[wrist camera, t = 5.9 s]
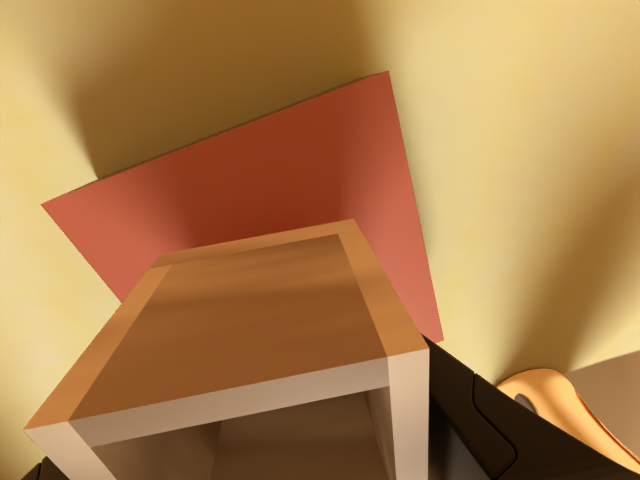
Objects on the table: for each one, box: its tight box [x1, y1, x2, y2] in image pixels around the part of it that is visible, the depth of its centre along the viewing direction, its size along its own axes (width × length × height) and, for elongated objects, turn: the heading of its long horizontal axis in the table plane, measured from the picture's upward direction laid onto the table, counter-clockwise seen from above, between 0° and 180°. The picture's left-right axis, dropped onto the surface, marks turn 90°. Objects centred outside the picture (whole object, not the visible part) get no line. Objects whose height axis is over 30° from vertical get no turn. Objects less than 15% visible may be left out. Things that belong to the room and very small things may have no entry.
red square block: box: [41, 71, 444, 343], centre depth 13 cm, size 11×11×4 cm
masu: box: [22, 219, 429, 480], centre depth 8 cm, size 6×6×5 cm
